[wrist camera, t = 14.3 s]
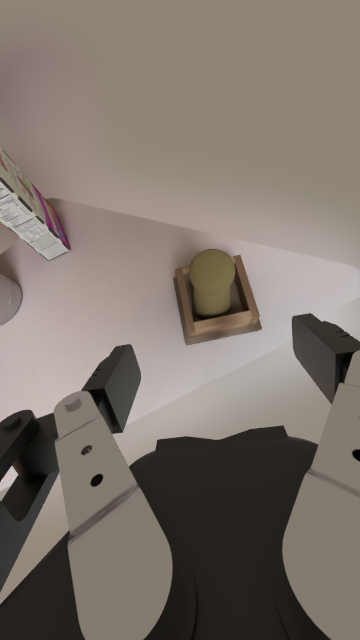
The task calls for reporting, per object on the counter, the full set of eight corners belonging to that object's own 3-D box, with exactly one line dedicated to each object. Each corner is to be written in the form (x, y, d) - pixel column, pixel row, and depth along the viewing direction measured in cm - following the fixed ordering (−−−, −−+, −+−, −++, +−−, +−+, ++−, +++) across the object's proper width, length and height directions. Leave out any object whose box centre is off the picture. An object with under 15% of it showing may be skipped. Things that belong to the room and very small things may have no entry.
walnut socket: (186, 345, 35) (183, 337, 31) (174, 281, 39) (169, 266, 34) (260, 329, 34) (267, 320, 30) (240, 266, 38) (243, 249, 34)
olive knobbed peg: (205, 330, 34) (202, 299, 24) (184, 298, 36) (173, 257, 26) (240, 309, 35) (252, 270, 24) (217, 279, 37) (220, 231, 26)
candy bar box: (33, 222, 47) (-53, 136, 32) (56, 211, 47) (-19, 120, 32) (47, 263, 43) (-43, 188, 28) (72, 251, 44) (-5, 169, 28)
